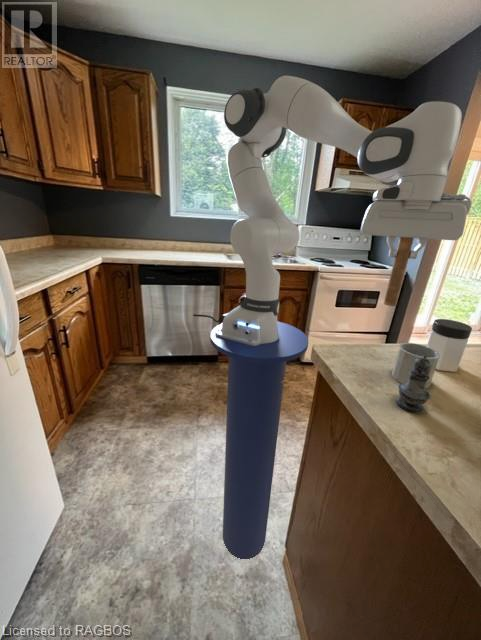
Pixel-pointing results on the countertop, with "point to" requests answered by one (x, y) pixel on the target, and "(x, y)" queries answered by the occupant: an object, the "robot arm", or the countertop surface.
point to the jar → (449, 342)
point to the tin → (407, 359)
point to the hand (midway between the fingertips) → (401, 257)
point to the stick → (398, 270)
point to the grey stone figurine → (415, 387)
